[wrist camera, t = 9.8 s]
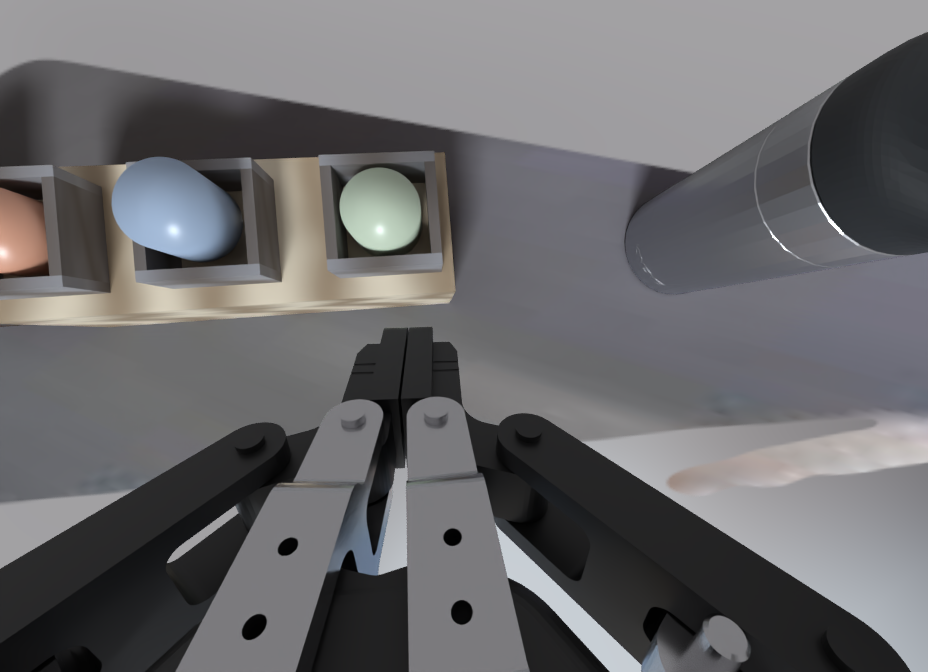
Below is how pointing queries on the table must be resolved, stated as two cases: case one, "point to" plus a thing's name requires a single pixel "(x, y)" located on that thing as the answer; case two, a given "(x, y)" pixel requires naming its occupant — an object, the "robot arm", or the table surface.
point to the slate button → (176, 210)
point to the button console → (250, 262)
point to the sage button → (382, 212)
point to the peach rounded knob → (22, 236)
